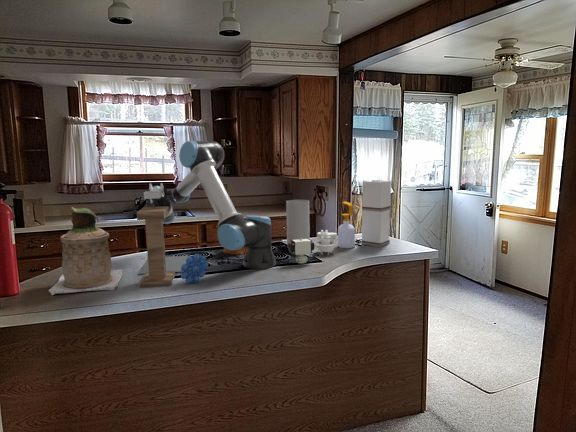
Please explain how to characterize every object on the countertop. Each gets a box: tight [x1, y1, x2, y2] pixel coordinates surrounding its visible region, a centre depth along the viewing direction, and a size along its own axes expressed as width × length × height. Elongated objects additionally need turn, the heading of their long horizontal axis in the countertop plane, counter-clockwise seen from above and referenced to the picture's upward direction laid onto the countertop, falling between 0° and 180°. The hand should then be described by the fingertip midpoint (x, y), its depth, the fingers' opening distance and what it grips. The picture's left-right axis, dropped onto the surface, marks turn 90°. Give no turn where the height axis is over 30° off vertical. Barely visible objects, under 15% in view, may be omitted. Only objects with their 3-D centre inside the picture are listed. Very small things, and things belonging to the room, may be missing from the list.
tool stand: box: [136, 206, 176, 288], centre depth 172 cm, size 16×12×30 cm
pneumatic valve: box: [287, 238, 316, 265], centre depth 197 cm, size 6×12×12 cm, turn 109°
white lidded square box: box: [361, 179, 392, 248], centre depth 232 cm, size 11×11×35 cm
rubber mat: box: [137, 255, 191, 276], centre depth 198 cm, size 28×20×1 cm
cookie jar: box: [48, 207, 123, 296], centre depth 170 cm, size 25×25×32 cm
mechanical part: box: [314, 229, 338, 256], centre depth 214 cm, size 11×12×12 cm
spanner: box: [143, 188, 162, 200], centre depth 180 cm, size 22×6×2 cm, turn 9°
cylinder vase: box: [285, 199, 311, 247], centre depth 230 cm, size 12×12×25 cm
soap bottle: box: [337, 200, 356, 249], centre depth 227 cm, size 9×9×25 cm
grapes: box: [180, 253, 209, 284], centre depth 171 cm, size 12×7×12 cm, turn 124°
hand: (155, 186), depth 181 cm, fingers closed on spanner, 4 cm apart
